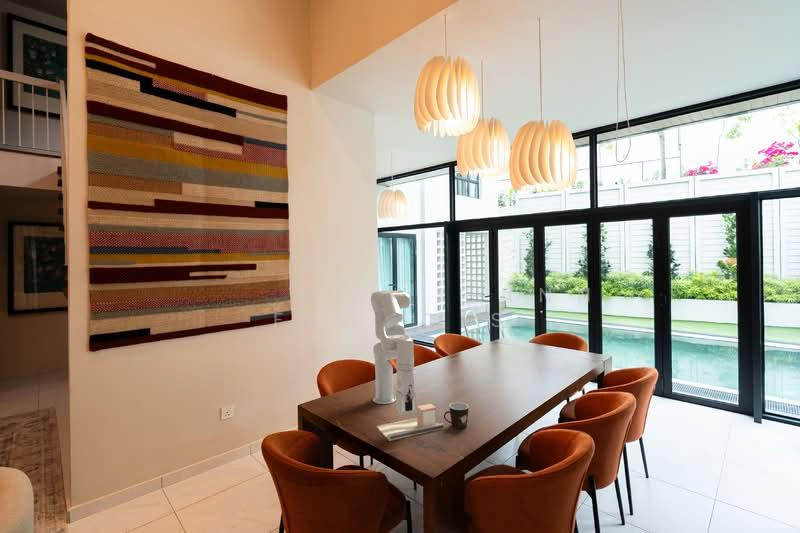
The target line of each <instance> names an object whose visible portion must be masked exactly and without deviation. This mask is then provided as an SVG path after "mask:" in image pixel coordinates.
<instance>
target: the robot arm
mask: <svg viewBox="0 0 800 533" xmlns="http://www.w3.org/2000/svg"><path fill="white" fill-rule="evenodd" d="M370 303H371V306H372V309H373V312H374V321H375V322H374V326H375V336H376V339H378V340H379V341H380V342H377V343H375V344H374V345H373V347H372V348H373V350H372V352H373V357H374V358H373V359H374V369H375V370H374V371H375V372H374V373H375V396H374V397H373V398H372V401H373V402H374V403H375V404H378V405H389V404H393V403H396V395H394V369H393V365H392V364H391V363H390V361H391V360H396V375H395V378H396V379H395V389H396V390H395V391H398V392H400V393H401V394H403V395H404V396H405V398H406V402H405V411H411V410H413V408H412V401H413V398H414V391H415V376H414V375H415V374H414V370H415V356H414V352H415V351H414V340H413V338H412V337H411V335H410V334H407V333H406V330H405V325H404V323H403V322H402V321H403V313H402V309H408V308H409V307H410V305H411V299H410V296H409V293H408V292H407V291H404V290H380V291H379V290H378V291H375V292H372V294H371V296H370ZM389 360H390V361H389ZM408 393H410V394H408ZM409 395H410V397H408V396H409Z"/></svg>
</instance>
